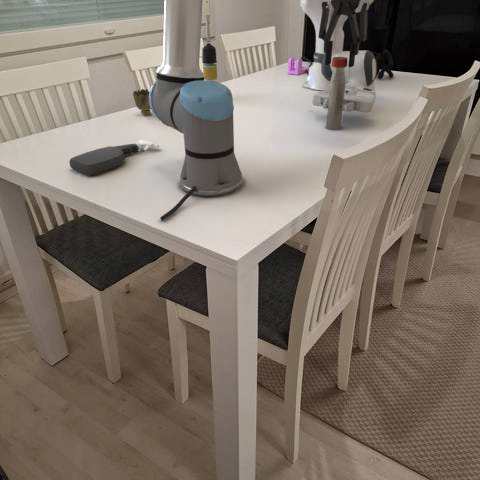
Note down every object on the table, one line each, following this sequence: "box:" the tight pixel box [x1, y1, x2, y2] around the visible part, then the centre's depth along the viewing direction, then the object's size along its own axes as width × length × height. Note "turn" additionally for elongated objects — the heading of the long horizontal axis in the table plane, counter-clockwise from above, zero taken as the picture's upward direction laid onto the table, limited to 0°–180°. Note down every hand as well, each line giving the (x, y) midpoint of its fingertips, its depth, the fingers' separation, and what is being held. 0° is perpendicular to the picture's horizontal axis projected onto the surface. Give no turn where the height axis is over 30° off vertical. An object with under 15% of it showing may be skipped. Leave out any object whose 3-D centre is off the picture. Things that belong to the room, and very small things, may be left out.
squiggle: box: [370, 49, 394, 80], centre depth 203 cm, size 11×10×15 cm
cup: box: [132, 88, 152, 116], centre depth 160 cm, size 8×7×8 cm
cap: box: [332, 57, 348, 68], centre depth 135 cm, size 4×4×2 cm
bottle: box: [325, 67, 347, 131], centre depth 140 cm, size 5×5×20 cm
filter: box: [201, 14, 218, 82], centre depth 171 cm, size 6×6×30 cm
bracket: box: [287, 57, 309, 76], centre depth 217 cm, size 13×6×7 cm, turn 143°
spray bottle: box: [68, 139, 160, 177], centre depth 124 cm, size 3×11×24 cm
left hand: (339, 65), depth 135 cm, fingers open, 7 cm apart
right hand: (334, 107), depth 141 cm, fingers closed on bottle, 5 cm apart
